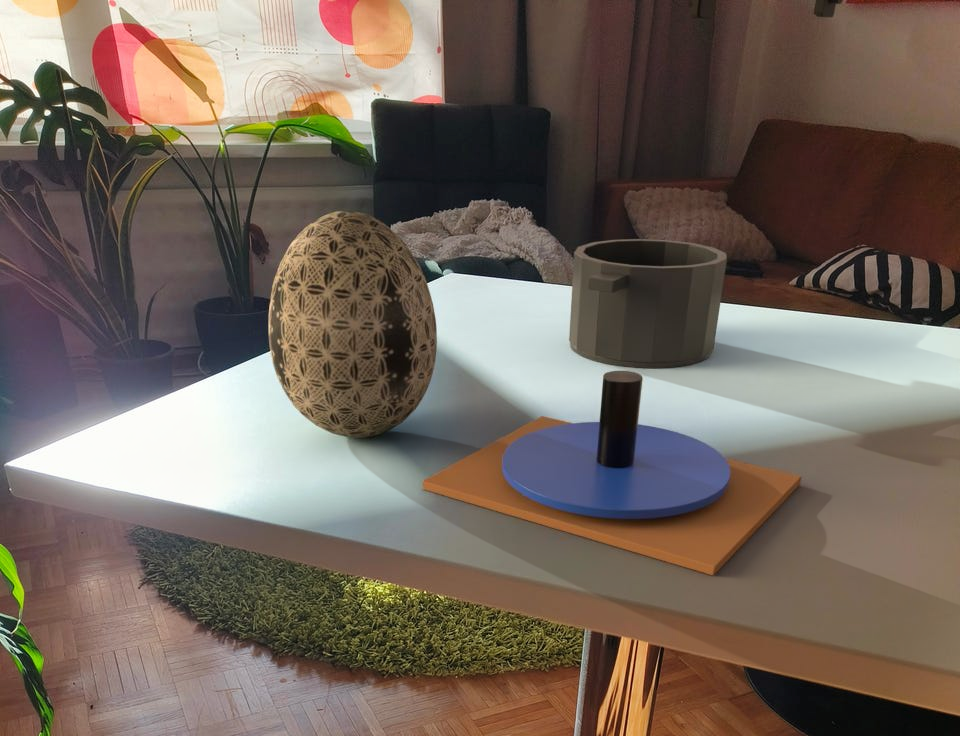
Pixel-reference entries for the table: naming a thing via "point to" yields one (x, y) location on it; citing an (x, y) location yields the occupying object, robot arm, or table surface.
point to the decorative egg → (352, 326)
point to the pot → (646, 302)
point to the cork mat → (673, 539)
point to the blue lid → (616, 463)
